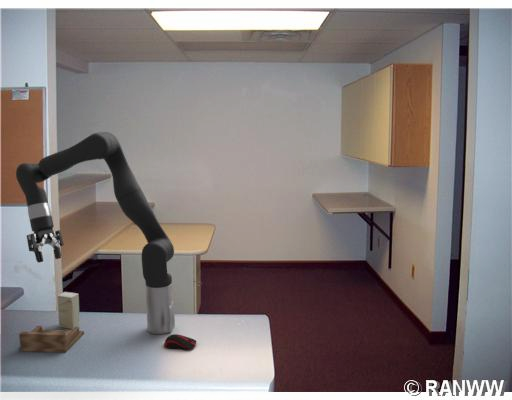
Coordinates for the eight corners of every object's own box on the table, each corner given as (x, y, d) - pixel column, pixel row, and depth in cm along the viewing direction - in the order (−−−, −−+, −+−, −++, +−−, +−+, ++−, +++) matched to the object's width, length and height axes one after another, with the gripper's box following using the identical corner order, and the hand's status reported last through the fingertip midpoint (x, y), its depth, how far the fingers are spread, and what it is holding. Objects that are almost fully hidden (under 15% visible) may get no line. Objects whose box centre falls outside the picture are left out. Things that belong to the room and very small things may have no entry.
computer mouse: (192, 352, 164) (192, 341, 163) (161, 349, 166) (160, 338, 165) (198, 343, 170) (198, 332, 169) (168, 340, 172) (167, 330, 171)
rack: (84, 333, 177) (83, 317, 176) (65, 352, 163) (64, 335, 162) (40, 331, 178) (39, 316, 177) (19, 350, 164) (17, 333, 163)
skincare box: (58, 327, 182) (56, 295, 180) (66, 322, 186) (64, 291, 184) (73, 329, 180) (71, 297, 178) (81, 324, 185) (78, 293, 182)
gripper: (32, 216, 174) (42, 261, 173) (62, 213, 187) (71, 255, 186) (17, 220, 177) (26, 265, 176) (47, 217, 190) (56, 259, 189)
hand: (49, 260), depth 181 cm, fingers open, 8 cm apart
